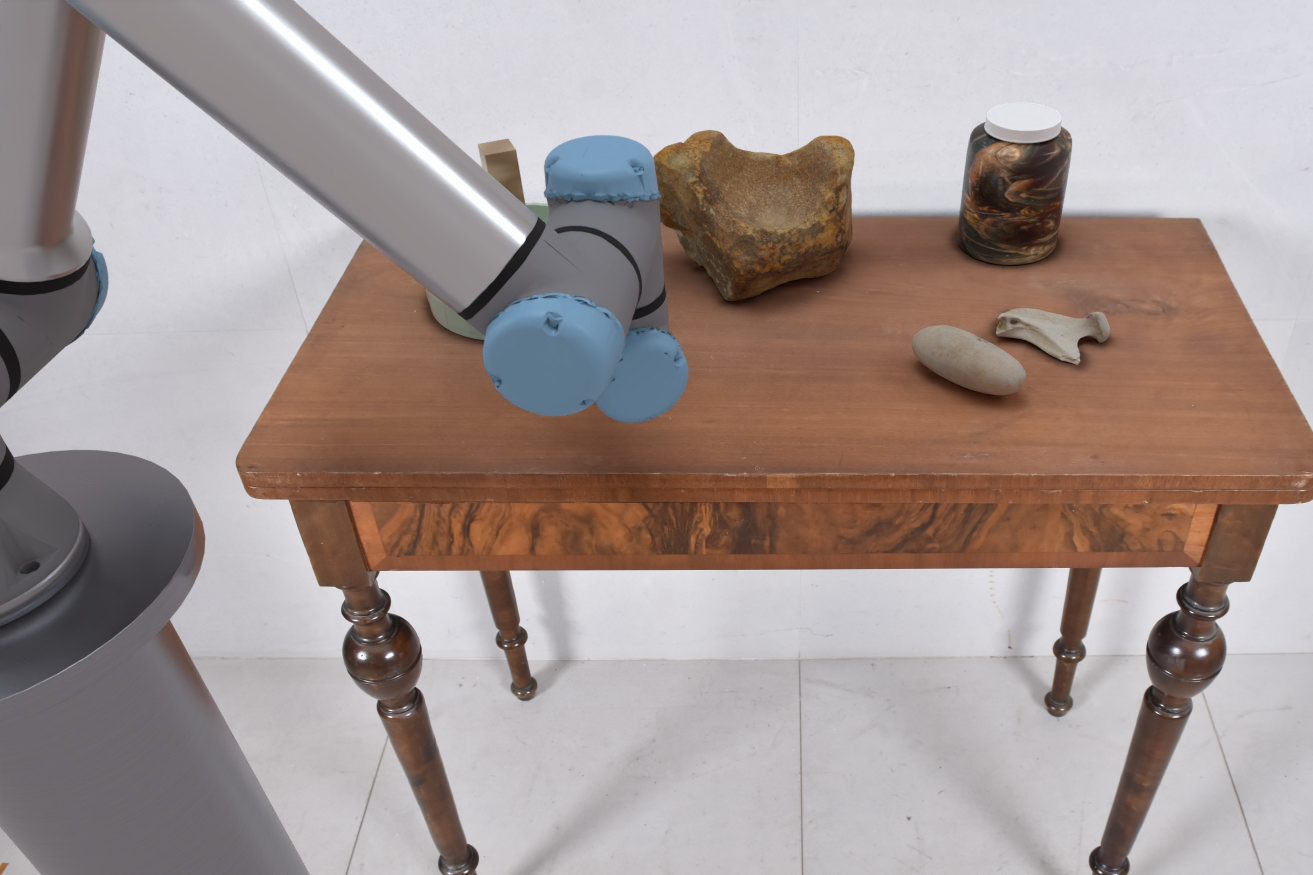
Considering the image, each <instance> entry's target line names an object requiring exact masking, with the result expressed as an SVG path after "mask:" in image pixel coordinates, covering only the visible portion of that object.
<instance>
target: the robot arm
mask: <svg viewBox="0 0 1313 875" xmlns="http://www.w3.org/2000/svg"><path fill="white" fill-rule="evenodd" d="M107 36H108V37H110V38H111V39H112V40H114V41H115V42H116V43H117V44H118V45H119V46H121V47H122V48H123V49H125V50H126V51H127V52H129V53H130V54H131V55H132V56H134V57H135V58H136V59H137V60H138V61H140V62H141V63H142V64H143V65H145V66H146V68H149V69H150V70H151V71H152V72H153V73H155V74H156V75H157V76H159V77H160V78H161V79H163V80H164V82H166V83H167V84H169V85H170V86H171V87H172V88H174V90H176V91H177V92H178V93H180V94H181V95H183V96H184V97H185V98H186V99H187V100H189V101H190V102H191V103H192V104H194V105H195V106H196V107H197V108H199V109H200V110H201V111H203V113H205V114H206V115H207V116H209V118H211V119H213V120H214V121H215V122H216V123H217V124H219V125H220V126H221V127H223V128H224V129H225V130H226V131H228V132H229V133H230V134H231V135H232V136H234V137H235V138H237V140H239V141H240V142H241V143H242V144H244V145H245V146H246V147H248V148H249V149H250V150H251V151H253V152H254V153H255V154H256V155H257V156H259V157H260V158H261V159H263V160H264V161H265V162H266V163H267V164H269V165H270V166H272V168H274V169H275V170H276V171H278V173H280V174H281V175H283V176H284V177H285V178H287V179H288V180H289V181H290V182H292V183H293V184H294V185H295V186H296V187H298V188H299V189H300V190H301V191H302V192H304V193H305V194H307V195H308V196H309V197H310V198H312V199H313V200H314V201H315V202H317V203H318V204H319V205H320V206H321V207H323V208H324V209H325V210H326V211H328V212H329V213H330V214H331V215H333V216H334V217H335V218H337V220H339V221H340V222H341V223H343V225H345V226H346V227H348V228H349V229H350V230H352V231H353V233H355V234H357V235H358V236H359V237H360V238H361V239H362V240H364V241H365V242H367V244H369V245H370V246H372V247H373V248H374V249H375V250H377V251H378V252H379V253H380V254H381V255H383V256H384V257H385V258H387V259H388V260H389V261H390V262H392V263H393V264H394V265H396V266H397V267H398V268H399V269H400V270H401V271H403V272H404V273H405V274H407V275H408V276H409V277H410V278H411V279H413V280H414V281H416V282H417V283H418V284H419V285H420V286H422V287H423V288H424V289H425V288H426V289H427V290H428V291H429V292H431V293H432V294H433V295H434V296H436V297H437V298H438V299H439V300H441V301H442V302H443V303H444V304H446V305H447V306H448V307H449V308H451V309H452V310H453V311H454V312H456V313H457V314H458V315H459V316H461V317H462V318H463V319H464V320H466V321H467V322H468V323H469V324H470V325H471V326H472V327H474V328H475V329H476V330H477V331H479V332H480V333H481V334H482V335H484V336H485V338H484V340H483V347H482V361H483V366H484V369H485V372H486V373H487V374H488V377H489V378H490V380H491V382H492V383H493V385H494V389H495V390H496V391H497V392H498V393H499V394H500V396H502V397H503V398H504V399H506V400H507V401H508V402H510V404H512V405H514V406H516V407H517V408H518V409H521V410H524V411H527V412H529V413H531V414H535V415H538V416H539V415H540V416H544V417H564V416H565V417H566V416H570V415H574V414H577V413H580V412H582V411H585V410H586V409H588V408H589V407H591V406H592V405H594V404H595V405H596V406H597V407H598V409H599V410H600V411H601V412H602V413H603V415H606V416H607V417H609V418H610V419H612V420H614V421H617V422H620V423H625V424H639V423H644V422H648V421H651V420H654V419H656V418H659V417H660V416H663V415H665V413H667V412H668V411H670V410H671V409H672V408H673V407H675V405H676V404H678V402H679V400H680V399H681V397H682V396H683V395H684V392H685V390H686V388H687V386H688V381H689V374H690V373H689V372H690V371H689V365H688V364H689V363H688V361H687V358H686V355H685V354H684V352H683V350H682V345H681V343H680V342H679V340H678V338H676V337H675V335H673V334H672V332H671V328H670V323H669V322H670V321H669V309H668V296H667V289H666V283H665V270H664V268H665V267H664V255H663V239H662V227H661V226H662V224H661V223H662V222H660V207H659V198H661V193H660V192H659V191H658V185H657V179H656V172H655V164H654V159H653V157H654V155H652V153H651V151H650V150H649V149H648V148H647V147H646V146H645V145H644V144H642V143H641V142H640V141H637V140H634V139H632V138H630V137H625V136H621V135H612V134H611V135H608V134H597V135H588V136H582V137H576V138H573V139H570V140H567V141H565V142H562V143H561V144H558V145H557V146H555V147H554V148H553V149H552V150H550V152H549V153H548V154H547V155H546V158H545V160H544V163H543V171H544V183H545V189H544V190H543V197H544V198H545V199H546V204H548V207H549V219H548V220H547V222H546V223H545V222H543V221H542V220H541V219H540V218H539V217H538V216H536V215H535V214H534V213H533V212H532V211H531V210H530V209H528V208H527V207H526V206H525V205H524V204H523V203H522V202H521V201H519V200H518V199H517V198H516V197H515V196H514V195H513V194H511V193H510V192H509V191H508V190H507V189H506V188H505V187H504V186H502V185H501V184H500V183H499V182H498V181H497V180H496V179H495V178H493V177H492V176H491V175H490V174H489V173H488V172H487V171H486V170H484V169H483V168H482V165H481V164H479V163H478V162H477V161H475V160H474V158H472V157H471V156H470V155H469V154H468V153H467V152H466V151H464V149H462V148H461V147H459V145H458V144H457V143H455V141H453V140H452V139H451V138H450V137H448V135H446V134H445V133H444V132H443V131H441V129H440V128H438V127H437V126H436V125H435V124H434V123H433V122H431V121H430V120H429V118H427V117H426V116H425V115H424V114H423V113H422V112H420V111H419V110H418V109H417V107H415V106H414V105H412V104H411V103H410V101H408V100H407V99H406V98H404V96H402V95H401V94H400V93H399V92H398V91H397V90H395V89H394V88H393V87H392V86H391V85H390V84H389V83H388V82H387V81H385V80H384V79H383V78H382V77H381V76H380V75H379V74H377V72H375V71H374V70H373V69H372V68H371V67H369V66H368V65H367V64H366V63H365V62H364V61H363V60H361V59H360V58H359V57H358V56H357V55H356V54H355V53H354V52H353V51H351V50H350V49H349V48H348V47H347V46H346V45H345V44H344V43H343V42H341V41H340V40H339V39H338V38H337V37H336V36H334V34H332V33H331V32H330V31H329V30H328V29H327V28H326V27H324V25H322V24H321V23H320V22H319V21H318V20H316V19H315V17H313V16H312V15H311V14H309V12H308V11H306V10H305V9H304V8H303V7H302V6H301V5H300V4H298V2H296V1H295V0H0V409H1V408H2V407H3V406H4V405H5V404H6V403H7V402H8V401H10V400H11V399H12V398H13V397H14V396H15V395H16V394H17V393H18V392H19V391H20V390H21V389H22V388H23V387H25V386H26V385H27V383H29V382H30V380H32V379H33V378H34V377H35V376H36V375H37V374H39V372H41V371H42V369H44V368H45V367H46V365H48V364H49V363H50V362H51V361H52V360H53V359H55V357H57V355H59V354H60V353H61V352H62V351H63V350H64V349H65V348H66V347H68V346H70V345H71V344H72V343H74V342H76V341H77V340H78V339H79V338H80V337H82V336H83V335H84V334H85V332H86V330H88V329H89V328H90V327H91V326H92V324H93V322H94V321H95V319H96V317H97V316H98V314H99V313H100V312H101V310H102V308H103V306H104V304H105V303H106V299H107V296H108V291H109V282H110V281H109V270H108V265H107V262H106V260H105V256H104V253H102V252H100V251H97V250H96V249H95V246H94V245H95V242H96V239H95V238H94V237H93V234H92V230H91V227H90V225H89V224H88V222H87V221H86V219H85V218H84V217H83V215H82V214H81V212H79V211H78V210H77V209H76V208H77V203H78V202H77V201H78V196H79V190H80V186H81V180H82V174H83V167H84V162H85V156H86V150H87V146H88V141H89V140H88V138H89V134H90V128H91V123H92V117H93V111H94V105H95V100H96V95H97V94H96V93H97V88H98V81H99V78H100V71H101V65H102V60H103V54H104V48H105V44H106V37H107ZM14 457H15V456H14V455H13V453H12V452H11V450H10V448H9V447H8V445H7V443H6V442H5V440H4V439H3V436H2V435H1V434H0V626H2V625H4V624H7V623H9V622H11V621H13V620H15V619H17V618H19V617H21V616H23V615H25V614H26V613H28V612H30V611H32V610H33V609H35V608H36V607H38V606H39V605H41V604H42V603H44V602H45V601H47V600H48V599H49V598H51V597H52V596H53V595H55V594H56V593H57V592H58V591H59V590H60V589H62V588H63V587H64V586H65V585H66V584H67V583H68V582H69V581H70V580H71V578H72V577H73V576H74V575H75V574H76V572H77V571H78V570H79V568H80V567H81V565H82V563H83V562H84V559H85V557H86V555H87V552H88V549H89V534H88V531H87V529H86V526H85V525H84V523H83V521H82V520H81V518H80V516H79V514H78V513H77V511H76V510H75V508H74V507H73V506H72V505H71V504H70V503H68V502H67V501H66V500H65V499H64V498H62V497H61V496H60V495H59V494H58V493H56V492H55V491H54V490H52V489H51V488H50V487H49V486H47V485H46V484H45V483H43V482H42V481H41V480H40V479H38V478H37V477H36V476H35V475H33V474H32V473H31V472H29V471H28V470H27V469H26V468H24V467H23V466H22V465H20V464H19V463H18V462H17V461H16V460H15V458H14Z"/></svg>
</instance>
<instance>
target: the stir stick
mask: <svg viewBox="0 0 1313 875" xmlns="http://www.w3.org/2000/svg"><path fill="white" fill-rule="evenodd" d="M477 148H478V154H479V158H480V163H481V164H480V165H481V167H482V168H483V169H484V170H486V171H487V172H488V173H489V174H490V175H491V176H492V177H493V178H495V179H496V180H497V181H498V182H499V183H500V184H501V185H502V186H504V187H505V188H506V189H507V190H508V191H509V192H510V193H511V194H513V195H514V196H515V197H516V198H517V199H518V200H519V201H521V202H522V203H523V204H524V205H525V203H526V199H525V193H524V187H523V182H522V176H521V170H520V164H519V157H518V153H517V149H516V147H515V146H514V144H513V143H512V142H511V141H510V139H509V138H504V139H498V140H492V141H486V142H481V143H477ZM525 206H526V205H525Z"/></svg>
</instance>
